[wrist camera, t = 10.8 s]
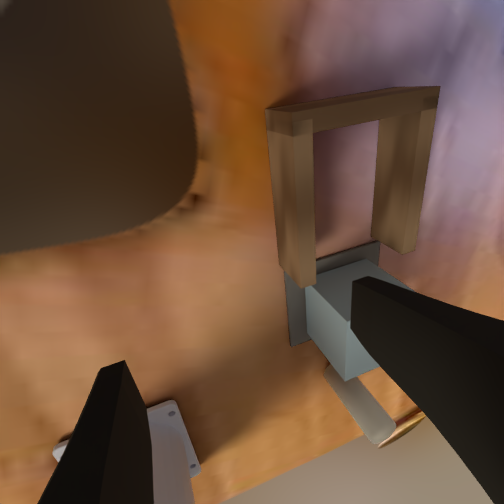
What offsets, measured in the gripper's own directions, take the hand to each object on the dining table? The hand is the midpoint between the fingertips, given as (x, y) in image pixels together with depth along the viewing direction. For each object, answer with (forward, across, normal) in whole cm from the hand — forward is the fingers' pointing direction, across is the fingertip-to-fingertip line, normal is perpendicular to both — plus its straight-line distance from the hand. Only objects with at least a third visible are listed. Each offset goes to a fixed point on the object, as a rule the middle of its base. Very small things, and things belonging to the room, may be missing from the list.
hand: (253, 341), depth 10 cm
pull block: (+9, -9, +11) cm, 17 cm away
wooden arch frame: (+9, -9, 0) cm, 13 cm away
